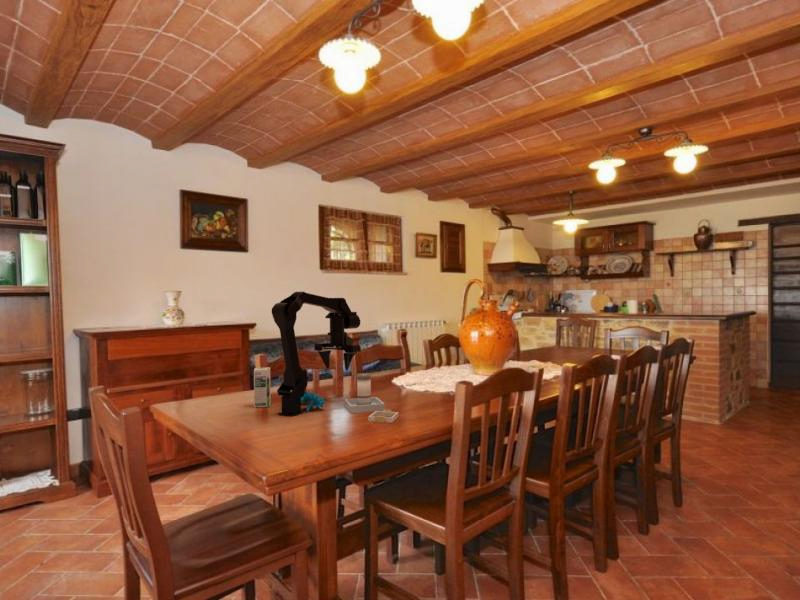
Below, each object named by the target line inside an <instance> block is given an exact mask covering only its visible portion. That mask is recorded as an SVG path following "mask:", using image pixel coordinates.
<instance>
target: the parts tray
mask: <svg viewBox="0 0 800 600" xmlns="http://www.w3.org/2000/svg"><path fill="white" fill-rule="evenodd" d="M343 402H344V405H343V406H344V408H346V410H347V411H348V412H349V413H350V414H360V413H362V414H363V413H374V412H375V411H383V410H386V404H385V402H383V401H382V400H381V399H380V398H379V397H376V396H371V404H370V405H357V398H345V399H344V400H343Z"/></svg>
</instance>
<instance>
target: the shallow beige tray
mask: <svg viewBox="0 0 800 600" xmlns="http://www.w3.org/2000/svg"><path fill="white" fill-rule="evenodd" d="M398 418H399V412H398V411H393V410H392V409H385V410H383V411H375V412H372V413H371V414H370V415H369V416H368V417H367V420H368V422H372V423H373V422H374V423H380V424H383V423H384V424H385V423H388V424H389V423H391V424H393V422H395V421H396V420H397V419H398Z"/></svg>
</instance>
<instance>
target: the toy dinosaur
mask: <svg viewBox="0 0 800 600" xmlns="http://www.w3.org/2000/svg"><path fill="white" fill-rule="evenodd" d="M300 399H301V406H302V407H305V406H307V407H306V410H305V412H306V413H309V412H310V410H311V408H313V409H314V407H315V408H316V409H320V408H323V407H324V405H325V404H326V401H325V398H324V397H323V396H320V394H318V393H316V394H315V393H314V391H310V392H309V391H307V390H305V393H304V396H303V397H300Z"/></svg>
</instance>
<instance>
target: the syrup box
mask: <svg viewBox="0 0 800 600" xmlns="http://www.w3.org/2000/svg"><path fill="white" fill-rule="evenodd" d="M253 395H254V396H253V397H254V398H253V408H254V409H256V407H257V408H270V406H271V367H270V366H269V367H255V368H254V369H253Z"/></svg>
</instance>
